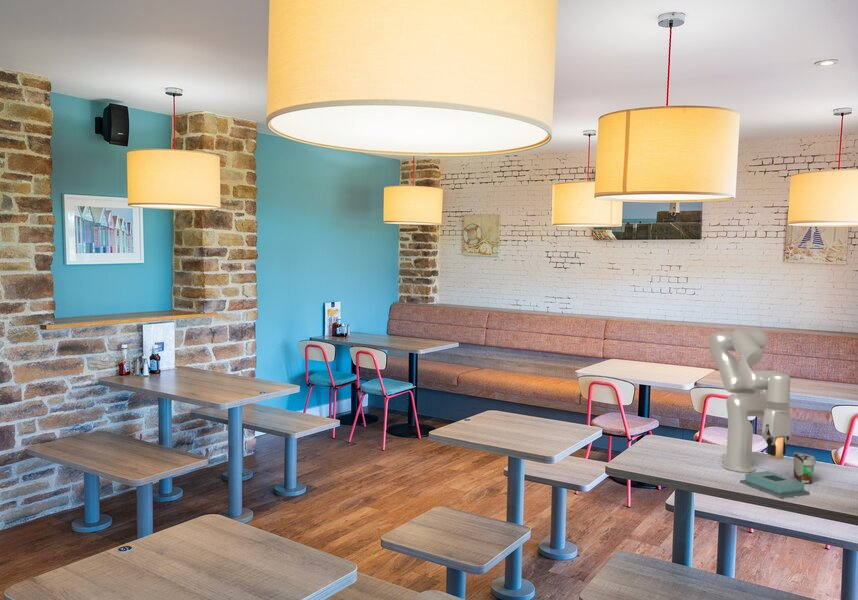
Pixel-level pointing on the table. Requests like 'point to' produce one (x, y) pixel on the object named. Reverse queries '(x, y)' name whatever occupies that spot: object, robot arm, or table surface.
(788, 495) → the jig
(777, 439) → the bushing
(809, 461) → the food container
